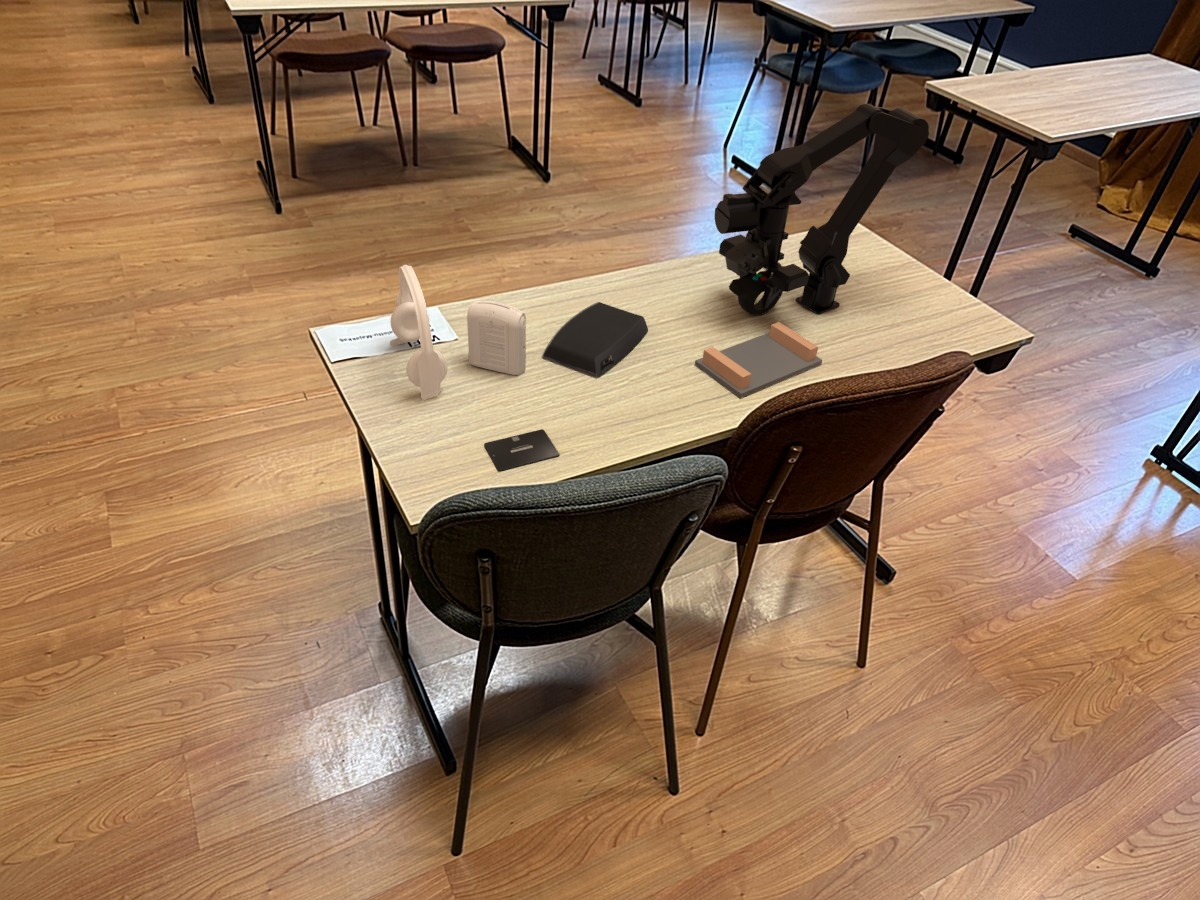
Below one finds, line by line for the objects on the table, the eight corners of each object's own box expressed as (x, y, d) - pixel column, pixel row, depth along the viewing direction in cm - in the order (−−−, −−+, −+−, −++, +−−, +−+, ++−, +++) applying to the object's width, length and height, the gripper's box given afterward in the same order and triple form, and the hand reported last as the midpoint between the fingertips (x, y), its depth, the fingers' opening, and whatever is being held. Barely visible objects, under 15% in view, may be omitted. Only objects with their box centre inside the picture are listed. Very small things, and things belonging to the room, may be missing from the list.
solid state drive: (483, 446, 130) (483, 443, 130) (543, 432, 134) (543, 428, 133) (498, 474, 125) (498, 470, 125) (560, 458, 129) (560, 454, 128)
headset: (452, 399, 139) (445, 304, 128) (409, 406, 137) (398, 310, 125) (428, 337, 153) (420, 247, 142) (389, 343, 151) (377, 251, 140)
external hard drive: (537, 359, 150) (537, 339, 147) (592, 313, 163) (593, 295, 161) (600, 382, 145) (601, 362, 143) (652, 334, 159) (654, 315, 156)
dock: (774, 334, 159) (777, 318, 157) (821, 364, 152) (825, 348, 150) (694, 365, 150) (697, 348, 148) (740, 398, 143) (743, 381, 140)
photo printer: (529, 365, 147) (529, 303, 140) (520, 378, 144) (519, 315, 136) (475, 353, 150) (472, 292, 142) (465, 366, 146) (461, 303, 139)
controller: (784, 311, 166) (794, 266, 160) (734, 325, 161) (742, 278, 155) (771, 302, 169) (780, 256, 163) (721, 315, 164) (728, 268, 158)
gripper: (702, 217, 156) (693, 292, 166) (773, 257, 144) (758, 335, 154) (746, 205, 161) (734, 278, 171) (818, 242, 150) (801, 319, 159)
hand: (755, 302), depth 164 cm, fingers open, 5 cm apart
